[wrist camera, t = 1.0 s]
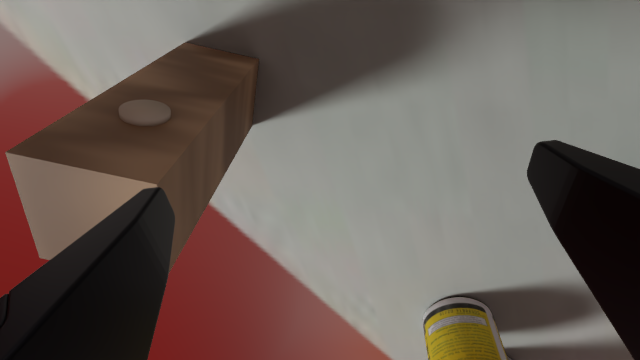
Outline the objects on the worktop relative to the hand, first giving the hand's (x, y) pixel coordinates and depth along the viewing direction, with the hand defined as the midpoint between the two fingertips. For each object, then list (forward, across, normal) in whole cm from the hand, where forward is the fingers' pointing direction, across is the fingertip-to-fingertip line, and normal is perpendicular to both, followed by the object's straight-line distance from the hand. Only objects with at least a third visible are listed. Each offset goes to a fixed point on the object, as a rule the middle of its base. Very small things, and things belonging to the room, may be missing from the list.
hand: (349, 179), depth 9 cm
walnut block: (+13, +6, +2) cm, 14 cm away
